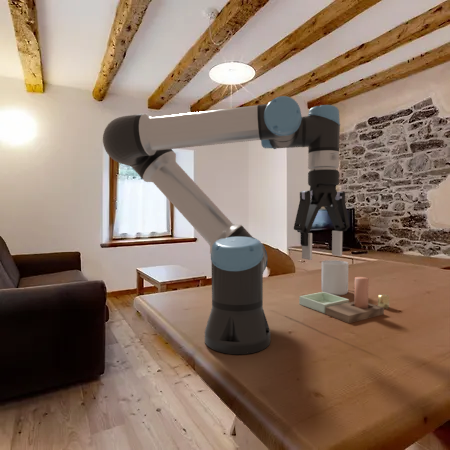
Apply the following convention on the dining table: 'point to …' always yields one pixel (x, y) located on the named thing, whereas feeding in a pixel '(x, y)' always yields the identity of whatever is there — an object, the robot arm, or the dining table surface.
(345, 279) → the mug
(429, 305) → the dining table surface
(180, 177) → the robot arm
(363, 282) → the pink tapered rounded cylinder
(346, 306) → the wooden block with recess
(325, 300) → the tray
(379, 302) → the bench dog
